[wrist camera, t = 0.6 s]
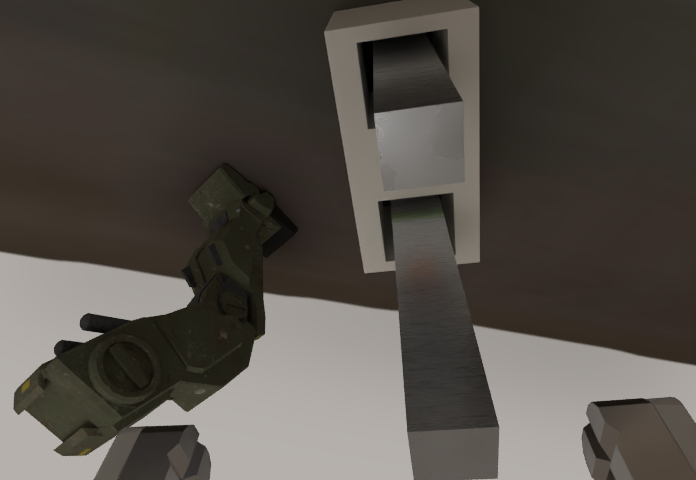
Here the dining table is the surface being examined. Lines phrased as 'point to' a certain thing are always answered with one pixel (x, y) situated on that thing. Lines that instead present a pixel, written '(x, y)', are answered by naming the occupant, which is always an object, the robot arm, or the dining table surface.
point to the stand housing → (359, 124)
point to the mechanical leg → (167, 330)
